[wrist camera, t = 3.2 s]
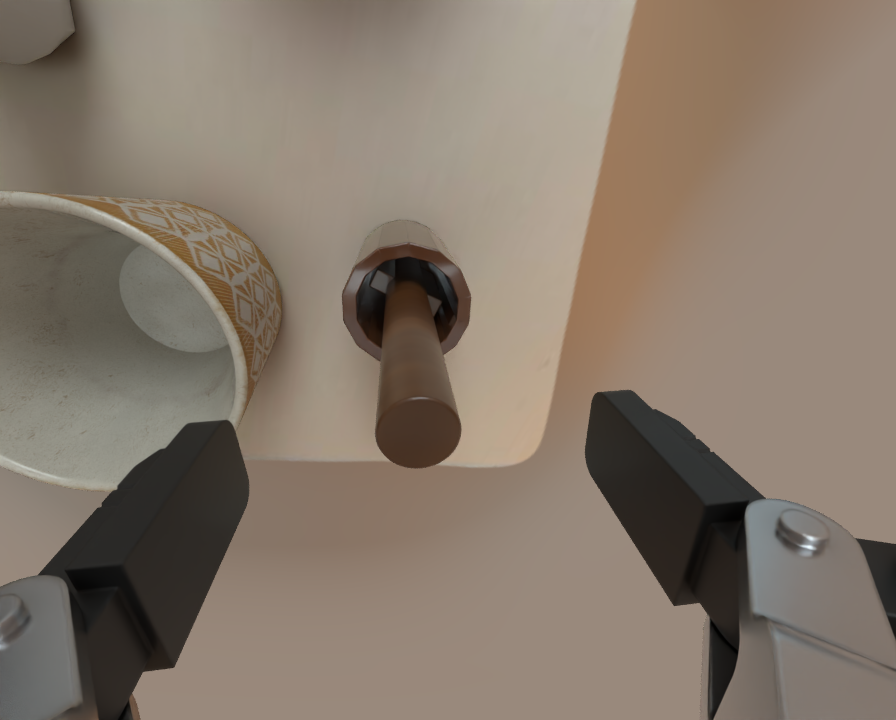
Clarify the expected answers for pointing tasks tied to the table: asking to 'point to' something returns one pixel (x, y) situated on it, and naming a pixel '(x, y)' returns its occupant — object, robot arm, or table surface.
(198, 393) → the planter
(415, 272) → the cooking stick
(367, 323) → the crock
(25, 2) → the salt shaker
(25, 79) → the table surface
